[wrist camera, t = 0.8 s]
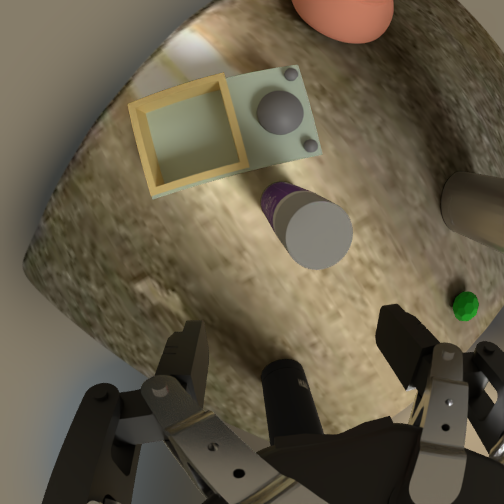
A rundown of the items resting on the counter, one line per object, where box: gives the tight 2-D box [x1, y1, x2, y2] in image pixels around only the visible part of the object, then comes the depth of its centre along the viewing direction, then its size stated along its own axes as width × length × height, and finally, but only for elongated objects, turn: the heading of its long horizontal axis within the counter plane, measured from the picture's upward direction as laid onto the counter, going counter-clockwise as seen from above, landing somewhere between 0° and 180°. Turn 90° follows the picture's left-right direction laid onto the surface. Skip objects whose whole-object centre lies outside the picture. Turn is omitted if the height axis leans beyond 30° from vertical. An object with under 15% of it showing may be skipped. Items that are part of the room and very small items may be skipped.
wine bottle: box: [261, 359, 324, 446], centre depth 25 cm, size 6×6×30 cm
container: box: [261, 182, 353, 270], centre depth 24 cm, size 5×5×15 cm
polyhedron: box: [453, 292, 479, 321], centre depth 36 cm, size 5×5×5 cm
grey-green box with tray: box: [127, 65, 322, 199], centre depth 24 cm, size 16×9×9 cm, turn 104°
